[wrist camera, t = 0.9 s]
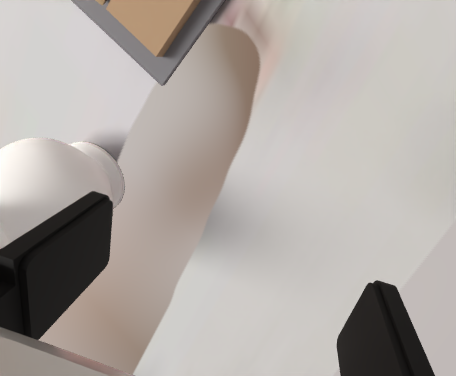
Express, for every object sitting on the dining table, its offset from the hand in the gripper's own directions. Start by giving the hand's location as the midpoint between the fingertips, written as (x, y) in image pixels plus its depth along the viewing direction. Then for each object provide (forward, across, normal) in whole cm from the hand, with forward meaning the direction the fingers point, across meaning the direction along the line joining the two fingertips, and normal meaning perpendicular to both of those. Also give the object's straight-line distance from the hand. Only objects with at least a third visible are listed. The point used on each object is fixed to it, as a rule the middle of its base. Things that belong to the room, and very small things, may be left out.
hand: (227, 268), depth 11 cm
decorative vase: (+33, +27, +18) cm, 46 cm away
